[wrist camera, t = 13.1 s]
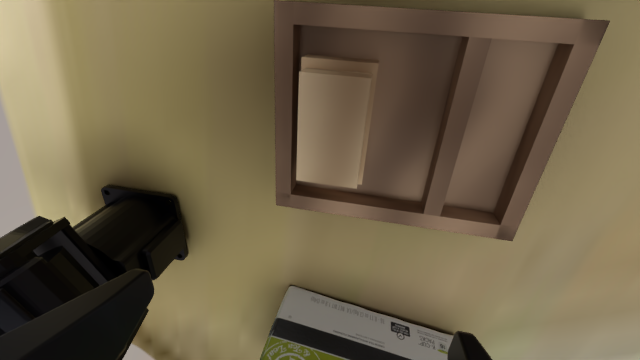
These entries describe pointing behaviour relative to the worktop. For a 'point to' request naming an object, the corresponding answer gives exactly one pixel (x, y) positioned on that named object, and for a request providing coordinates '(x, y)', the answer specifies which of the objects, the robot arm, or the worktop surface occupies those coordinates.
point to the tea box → (346, 333)
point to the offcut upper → (331, 125)
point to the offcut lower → (351, 66)
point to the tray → (437, 109)
